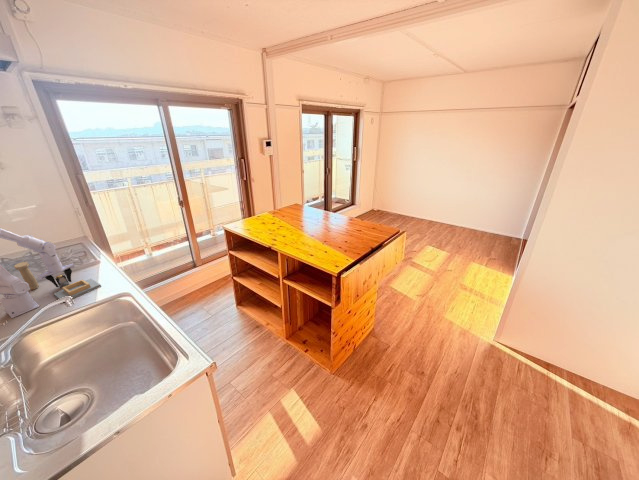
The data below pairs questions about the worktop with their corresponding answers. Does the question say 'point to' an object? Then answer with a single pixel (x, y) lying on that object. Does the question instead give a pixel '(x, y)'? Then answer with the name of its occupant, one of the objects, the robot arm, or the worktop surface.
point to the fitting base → (77, 288)
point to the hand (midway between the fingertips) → (63, 284)
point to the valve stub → (62, 281)
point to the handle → (27, 275)
